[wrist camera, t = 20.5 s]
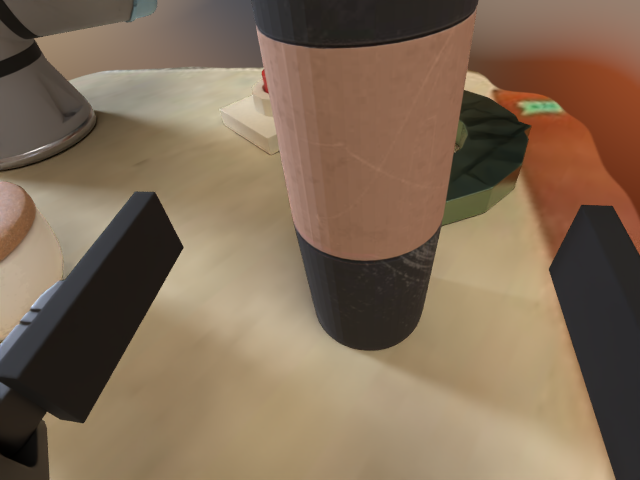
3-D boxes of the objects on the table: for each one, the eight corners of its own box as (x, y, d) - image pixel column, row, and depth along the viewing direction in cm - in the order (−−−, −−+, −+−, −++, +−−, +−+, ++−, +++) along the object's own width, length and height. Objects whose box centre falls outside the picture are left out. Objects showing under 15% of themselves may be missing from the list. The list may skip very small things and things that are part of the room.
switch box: (223, 124, 45) (213, 92, 43) (301, 89, 50) (297, 57, 47) (271, 155, 40) (263, 120, 37) (354, 112, 44) (352, 77, 42)
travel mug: (387, 246, 29) (402, -105, 15) (451, 324, 24) (564, -101, 10) (295, 284, 27) (211, -72, 13) (341, 376, 22) (285, -45, 8)
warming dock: (257, 159, 39) (251, 138, 38) (394, 88, 48) (395, 68, 46) (416, 269, 27) (419, 245, 25) (563, 148, 36) (573, 123, 34)
